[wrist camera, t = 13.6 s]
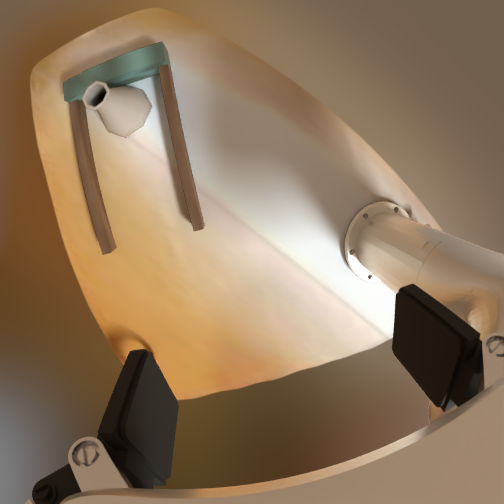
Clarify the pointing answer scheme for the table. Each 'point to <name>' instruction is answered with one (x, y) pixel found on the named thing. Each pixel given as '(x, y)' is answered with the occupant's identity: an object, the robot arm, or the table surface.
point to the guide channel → (114, 75)
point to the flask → (118, 107)
